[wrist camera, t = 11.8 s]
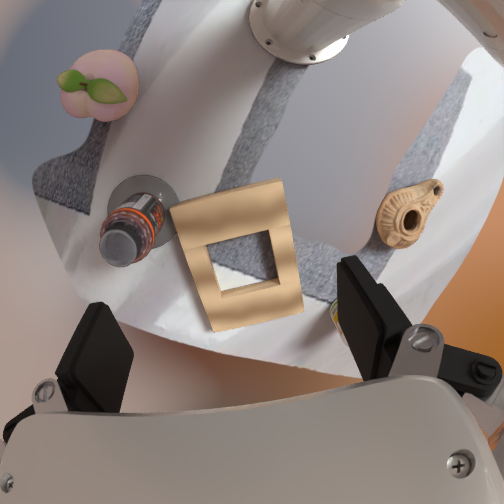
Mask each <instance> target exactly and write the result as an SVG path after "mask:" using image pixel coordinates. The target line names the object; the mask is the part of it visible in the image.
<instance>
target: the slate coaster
mask: <svg viewBox="0 0 504 504" xmlns="http://www.w3.org/2000/svg"><path fill="white" fill-rule="evenodd" d="M139 192H146V193H150V194H152V195H154V196H156V197H157V198H158V199H159V200H160V201H161V203H162V204H163V207H164V210H165V221H164V224H163V227H162V228H161V230H160V232H159V234H158V236H157V238H156V240H155V242H154V244H153V246H152V248H151V249H153V248H157V247H160V246H162V245H164V244H165V243H167V242H168V241H169V240H170V239H171V238H172V237H173V236H174V234H175V232H176V228H175V225H174V222H173V219H172V216H171V213H170V207H171V206H172V205H175V204H179V200H178V198H177V196H176V194H175V192H174V191H173V190H172V188H171V187H170V186H169V185H168V184H166V183H165V182H164V181H162V180H160V179H158V178H156V177H153V176H148V175H138V176H134V177H131V178H128V179H126V180H125V181H123V182H122V183H121V184H119V185H118V186H117V187H116V188H115V190H114V191H113V193H112V195H111V197H110V199H109V203H108V216H109V215H110V214H111V213H112V212H113V211H114V210H115V209H116V208H117V207H119V206H120V205H121V204H122V203H123V202H124V201H125V200H126V199H127V198H129V197H130V196H131V195H133V194H135V193H139Z"/></svg>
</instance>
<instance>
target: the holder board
mask: <svg viewBox="0 0 504 504" xmlns="http://www.w3.org/2000/svg"><path fill="white" fill-rule="evenodd" d="M170 213H171V216H172V219H173V222H174V225H175V228H176V231H177V234H178V237H179V240H180V243H181V245H182V248H183V251H184V254H185V257H186V260H187V263H188V265H189V268H190V271H191V274H192V276H193V279H194V282H195V285H196V287H197V290H198V293H199V295H200V298H201V301H202V303H203V306H204V308H205V311H206V314H207V316H208V319H209V321H210V324H211V326H212V329H213V331H214V333H215V332H220V331H225V330H229V329H234V328H239V327H243V326H248V325H252V324H256V323H261V322H265V321H269V320H273V319H278V318H282V317H286V316H290V315H294V314H298V313H301V312H304V305H303V299H302V292H301V286H300V279H299V273H298V267H297V261H296V255H295V249H294V244H293V238H292V232H291V227H290V222H289V216H288V210H287V205H286V200H285V194H284V189H283V184H282V180H281V179H280V178H275V179H270V180H266V181H262V182H257V183H253V184H249V185H244V186H240V187H236V188H232V189H228V190H224V191H220V192H216V193H212V194H208V195H204V196H201V197H197V198H193V199H189V200H186V201H182V202H179V204H175V205H172V206H171V207H170ZM264 230H268V232H269V237H270V241H271V246H272V251H273V255H274V260H275V265H276V270H277V275H278V278H275V279H271V280H267V281H263V282H258V283H254V284H250V285H246V286H241V287H237V288H233V289H229V290H224V291H221V290H220V287H219V283H218V280H217V277H216V274H215V271H214V268H213V265H212V262H211V259H210V255H209V252H208V249H207V246H206V245H207V244H211V243H215V242H219V241H223V240H227V239H231V238H235V237H239V236H243V235H248V234H252V233H256V232H260V231H264Z"/></svg>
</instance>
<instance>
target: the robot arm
mask: <svg viewBox="0 0 504 504" xmlns="http://www.w3.org/2000/svg"><path fill="white" fill-rule="evenodd" d="M405 1H406V0H253V3H252V5H251V8H250V13H249V21H250V26H251V30H252V32H253V34H254V36H255V38H256V39H257V41H258V42H259V43H260V45H261V46H262V47H263V48H264V49H266V50H267V51H268V52H269V53H271V54H272V55H274V56H275V57H277V58H279V59H281V60H284V61H286V62H290V63H294V64H301V65H312V64H318V63H322V62H325V61H327V60H329V59H331V58H333V57H335V56H336V55H337V54H338V53H340V51H342V49H343V48H344V46H345V45H346V43H347V41H348V38H349V34H351V33H353V32H354V31H356V30H358V29H360V28H362V27H364V26H366V25H368V24H370V23H372V22H374V21H376V20H377V19H380V18H382V17H384V16H385V15H387V14H389V13H391V12H393V11H395V10H396V9H398V8H399V7H400V6H401V5H402V4H403V3H404V2H405ZM437 1H438V2H440V3H441V4H442V5H443V6H444V7H445V8H446V9H447V10H448V11H449V12H450V13H452V15H453V16H454V17H455V18H457V19H458V21H459V22H460V23H462V25H463V26H464V27H465V28H466V29H467V30H468V31H469V32H470V33H471V34H472V35H473V36H474V37H475V38H476V39H477V41H478V42H479V43H480V44H481V45H482V46H483V47H484V48H485V50H486V51H487V52H488V53H489V54H490V55H491V56H492V57H493V58H494V59H495V60H496V61H497V62H498V63H499V64H500V65H501V66H502V67H503V68H504V0H437ZM257 5H258V6H260V7H256V6H257ZM266 42H269V43H270V45H267V44H266ZM309 57H311V58H312V60H310V59H309ZM337 317H338V322H339V325H340V327H341V329H342V332H343V334H344V336H345V338H346V341H347V343H348V345H349V348H350V350H351V352H352V355H353V357H354V359H355V362H356V364H357V366H358V369H359V371H360V373H361V376H362V378H363V380H364V382H360V383H355V384H350V385H346V386H343V387H338V388H334V389H330V390H325V391H321V392H316V393H311V394H306V395H301V396H296V397H291V398H286V399H281V400H275V401H269V402H262V403H257V404H249V405H242V406H234V407H226V408H216V409H206V410H194V411H179V412H158V413H119V412H120V408H121V403H122V400H123V395H124V392H125V388H126V383H127V380H128V376H129V372H130V368H131V365H132V361H133V357H134V353H133V350H132V348H131V346H130V344H129V342H128V341H127V339H126V337H125V336H124V334H123V332H122V330H121V328H120V327H119V325H118V323H117V321H116V319H115V317H114V315H113V314H112V312H111V310H110V308H109V306H108V305H106V304H105V303H103V302H96V303H91V304H89V306H88V307H87V309H86V311H85V313H84V315H83V317H82V319H81V321H80V323H79V324H78V326H77V328H76V330H75V332H74V334H73V336H72V338H71V340H70V342H69V344H68V346H67V348H66V350H65V352H64V354H63V356H62V359H61V361H60V363H59V365H58V367H57V369H56V372H55V374H56V375H57V377H58V379H57V381H56V380H55V379H52V378H48V379H45V380H43V381H41V382H40V383H39V384H37V386H36V387H35V388H34V390H33V393H32V402H33V404H32V405H31V406H30V407H28V408H27V409H25V410H24V411H23V412H21V413H20V414H19V415H17V416H16V417H14V418H13V419H12V420H10V421H9V422H8V423H7V424H6V426H5V428H4V431H3V439H4V441H2V440H0V504H504V375H503V374H502V369H501V366H500V365H499V363H498V362H497V361H496V360H495V359H493V358H491V357H489V356H486V355H482V354H478V353H474V352H471V351H467V350H464V349H461V348H457V347H453V346H450V345H447V344H444V337H443V334H442V333H441V332H440V331H439V329H437V328H436V327H434V326H432V325H428V324H415V325H412V324H411V322H410V321H409V319H408V318H407V317H406V315H405V314H404V312H403V311H402V309H401V308H400V307H399V305H398V304H397V302H396V301H395V300H394V298H393V297H392V295H391V294H390V293H389V291H388V290H387V288H386V287H385V286H384V285H383V284H381V283H379V284H377V283H376V282H375V280H374V279H373V277H372V276H371V275H370V273H369V272H368V270H367V269H366V268H365V266H364V265H363V264H362V262H361V261H360V260H359V258H358V257H357V256H356V255H353V256H348V257H344V258H341V262H338V263H337ZM477 422H478V423H477ZM480 428H482V429H483V430H484V431H485V432H486V434H487V436H488V443H487V440H486V438H485V436H484V434H483V432H482V431H481V429H480Z"/></svg>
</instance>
